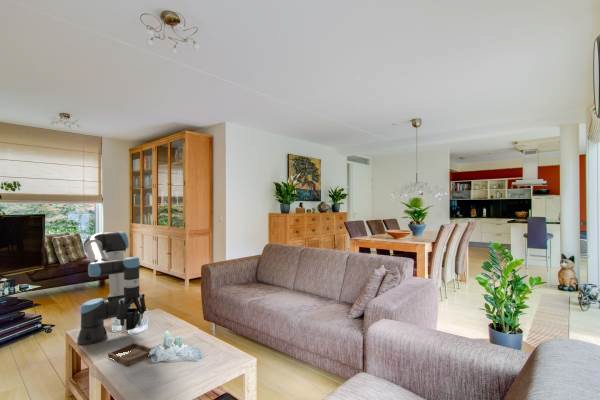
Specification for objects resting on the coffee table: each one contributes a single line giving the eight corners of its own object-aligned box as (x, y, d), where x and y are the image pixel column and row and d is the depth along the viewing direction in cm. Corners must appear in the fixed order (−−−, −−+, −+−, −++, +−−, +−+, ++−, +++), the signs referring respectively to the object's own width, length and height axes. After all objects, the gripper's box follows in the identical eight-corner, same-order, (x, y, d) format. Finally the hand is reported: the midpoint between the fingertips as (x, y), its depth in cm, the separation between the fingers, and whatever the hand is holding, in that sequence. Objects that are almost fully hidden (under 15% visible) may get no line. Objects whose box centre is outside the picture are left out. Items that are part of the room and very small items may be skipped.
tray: (108, 358, 167) (108, 353, 167) (134, 346, 180) (134, 342, 180) (128, 366, 158) (128, 361, 158) (154, 354, 171) (154, 349, 171)
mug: (130, 334, 163) (130, 315, 163) (117, 329, 169) (117, 311, 169) (145, 328, 170) (145, 310, 170) (132, 323, 176) (132, 307, 176)
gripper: (116, 292, 158) (116, 337, 158) (153, 282, 177) (153, 323, 176) (108, 290, 162) (108, 334, 162) (145, 281, 180) (145, 320, 180)
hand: (131, 328), depth 169 cm, fingers closed on mug, 8 cm apart
